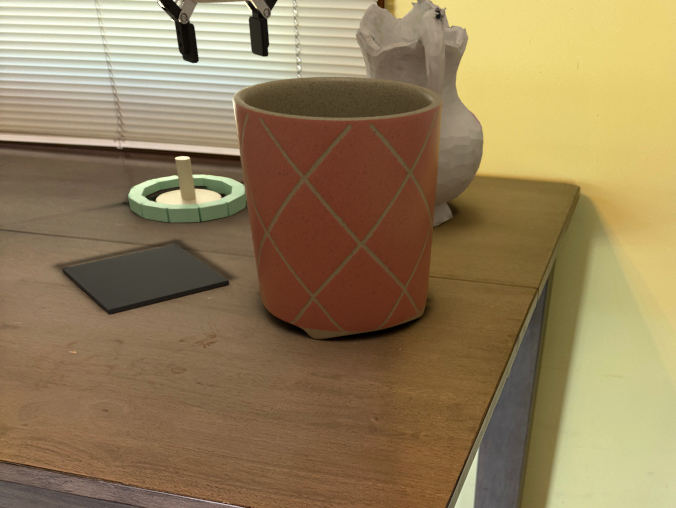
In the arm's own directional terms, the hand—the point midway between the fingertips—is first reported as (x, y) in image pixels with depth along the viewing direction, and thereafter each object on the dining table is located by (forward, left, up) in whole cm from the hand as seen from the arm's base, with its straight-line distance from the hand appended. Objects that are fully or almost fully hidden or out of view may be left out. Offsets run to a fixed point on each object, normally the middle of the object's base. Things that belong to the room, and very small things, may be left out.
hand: (226, 58), depth 95 cm
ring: (-6, +5, -18) cm, 19 cm away
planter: (-7, -36, -18) cm, 41 cm away
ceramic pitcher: (+17, -17, -18) cm, 30 cm away
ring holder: (-6, +5, -18) cm, 19 cm away
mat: (-22, -17, -18) cm, 33 cm away
